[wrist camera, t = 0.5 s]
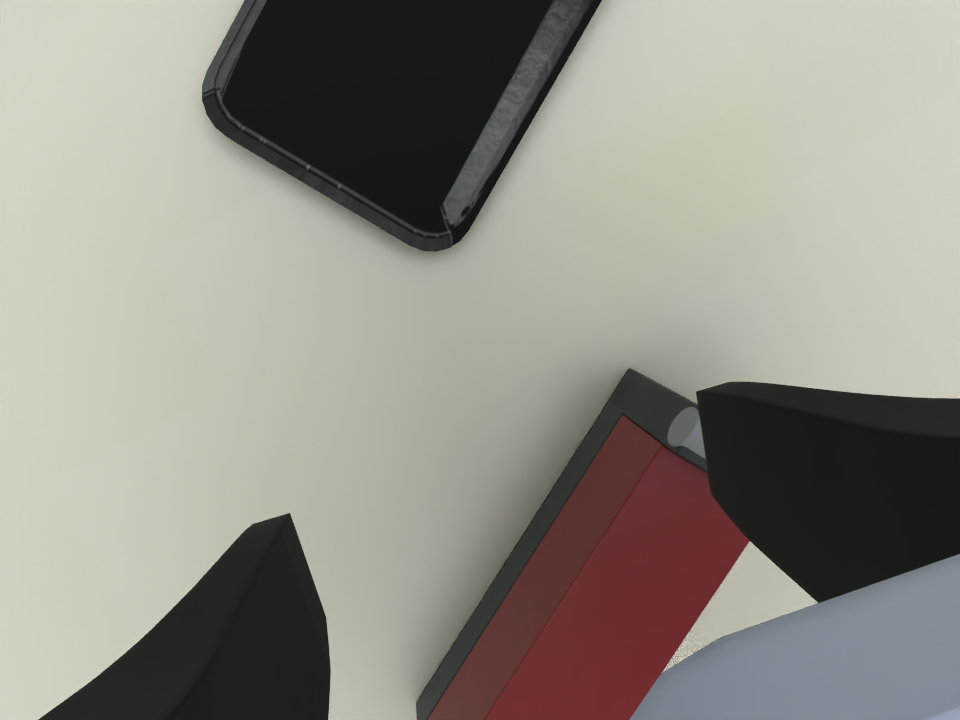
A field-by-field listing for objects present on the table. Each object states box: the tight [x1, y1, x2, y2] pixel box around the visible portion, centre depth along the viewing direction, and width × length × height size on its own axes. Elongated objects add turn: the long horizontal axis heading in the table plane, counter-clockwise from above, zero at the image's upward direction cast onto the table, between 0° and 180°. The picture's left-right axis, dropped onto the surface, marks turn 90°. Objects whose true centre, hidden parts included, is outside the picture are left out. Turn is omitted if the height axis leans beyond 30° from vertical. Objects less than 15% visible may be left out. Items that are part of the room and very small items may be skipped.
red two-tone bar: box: [416, 369, 750, 720], centre depth 20 cm, size 13×4×6 cm, turn 148°
